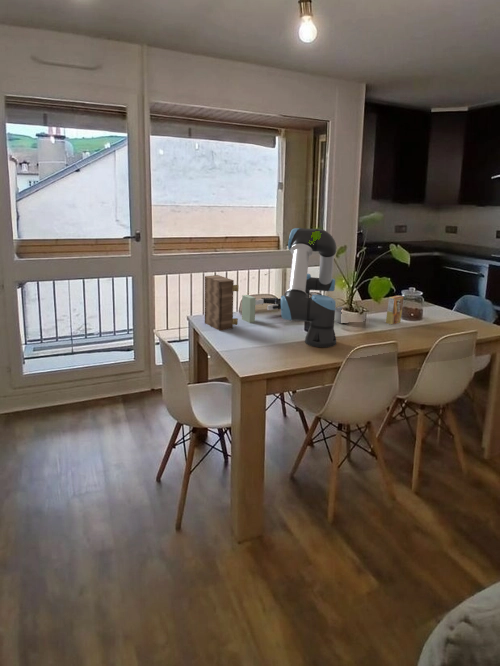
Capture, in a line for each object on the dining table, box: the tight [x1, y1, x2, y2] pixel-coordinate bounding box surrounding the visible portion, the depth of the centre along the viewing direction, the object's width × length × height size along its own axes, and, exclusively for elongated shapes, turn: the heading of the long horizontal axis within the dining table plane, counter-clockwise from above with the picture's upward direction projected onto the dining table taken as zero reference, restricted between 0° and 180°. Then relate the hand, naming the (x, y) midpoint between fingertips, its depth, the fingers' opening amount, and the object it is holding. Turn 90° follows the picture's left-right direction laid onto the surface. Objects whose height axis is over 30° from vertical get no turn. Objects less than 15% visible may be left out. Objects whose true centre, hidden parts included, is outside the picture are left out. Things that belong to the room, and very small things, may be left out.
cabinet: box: [204, 274, 239, 331], centre depth 259 cm, size 18×10×26 cm, turn 34°
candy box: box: [385, 295, 405, 325], centre depth 278 cm, size 9×4×15 cm, turn 129°
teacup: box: [334, 306, 344, 324], centre depth 278 cm, size 14×11×8 cm
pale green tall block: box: [241, 294, 257, 324], centre depth 273 cm, size 8×4×14 cm, turn 34°
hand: (260, 305), depth 277 cm, fingers open, 13 cm apart
